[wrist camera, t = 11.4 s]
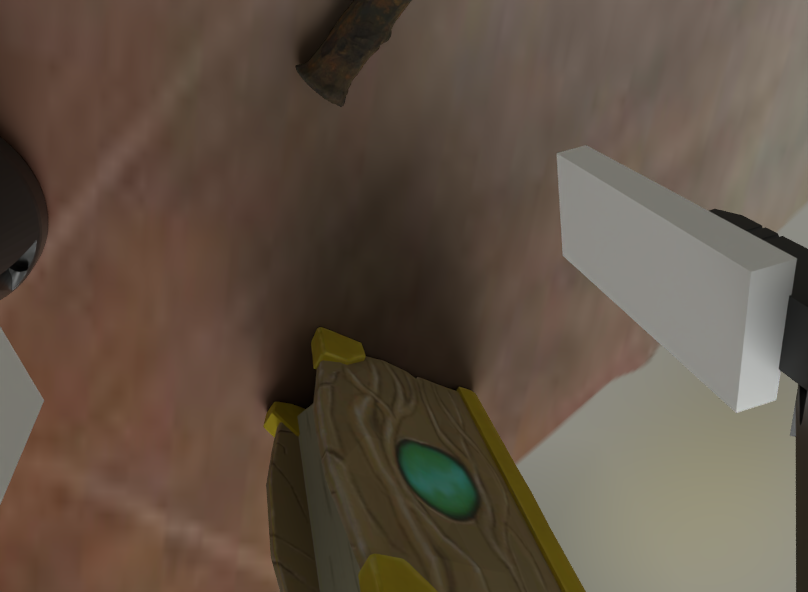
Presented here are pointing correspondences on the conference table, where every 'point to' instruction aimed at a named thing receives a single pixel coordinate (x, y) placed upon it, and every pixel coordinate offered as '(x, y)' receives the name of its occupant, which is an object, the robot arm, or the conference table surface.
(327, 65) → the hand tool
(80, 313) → the conference table surface
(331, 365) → the decorative book
